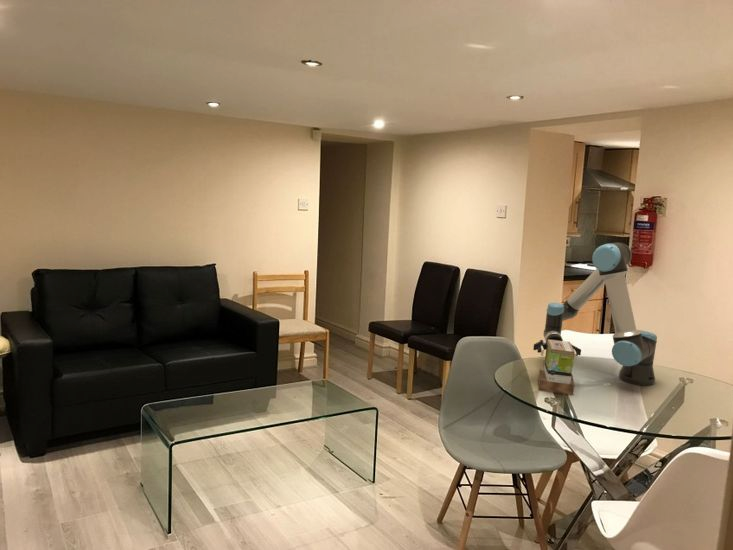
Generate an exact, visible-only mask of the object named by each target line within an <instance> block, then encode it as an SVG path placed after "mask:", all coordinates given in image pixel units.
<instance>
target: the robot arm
mask: <svg viewBox="0 0 733 550" xmlns="http://www.w3.org/2000/svg"><path fill="white" fill-rule="evenodd" d="M632 255H633V253H632V250H631V248H630V247H629V246H628V245H627V244H625V243H623V242H620V241H619V242H612V243H610V242H609V243H605V244H601V245H600V246H598V247H597V248H596V249H595V250H594V252H593V253H592V257H591V258H592V259H591V261H592V264H593V266H594V267H595V269H594V270H593V272H592V273H591V274H590V275H589V276H588V277H587V278H586V279H585V280H584V281H583V282H582V283H581V284H580V285H579V286H578V288H576V290H574V292H572V294H571V295H569V297H568V298H567V299H566V300H565V301H564V303H559V302H550V303H548V305H547V309H546V317H545V325H544V330H543V337H544V340H543V339H540V340H539V341H538V342H536V343H534V344H533V351H536V352H537V353H538V354H539V353H540V356H541V357H544V352H545V350H546V348H547V340H558V341H564V339H563V338H562V337H563V336H562V335H561V334H562V328H563V322H564V321H567V320H569V319H574V318H575V317H576V316H577V315H578V313H579V311H580V310H581V309H582V307H584V306H585V305H586V304H587V302H588V301H590V300H591V299H592V298H593V296H595V294H596V293H597V292H599V290H601V288H602V287H603V286H604V285H605V289H606V294H607V298H608V304H609V308H610V313H611V317H612V322H613V326H614V334H613V335H612V339H613V346H612V349H611V355H612V357H613V360H615V361H616V363H618V364H619V365H620V366H621V368H620V370H619V373H618V377H619V379H620V380H622V381H624V382H626V383H629V384H631V385H632V384H634V385H637V386H652V385H655V381H656V376H655V371H654V360H655V353H656V348H657V347H656V346H657V342H658V341H657V339H658V336H657V334H655V333H653V332H649V331H646V330H641V329H637V327H636V322H635V318H634V313H633V312H634V311H633V308H632V304H631V303H632V302H631V297H630V293H629V290H628V289H629V287H628V284H627V279H626V275H627V273H628V272H629V271H628V265H629V264H630V262H631V261H632V257H633V256H632ZM571 345H572V347H573V349H574V352H575V353H574V360H573V361H577V357H578V356H581V354H582V353H581V352H582V349H581V348H579V347H577V346H575V345H573V344H572V343H571Z"/></svg>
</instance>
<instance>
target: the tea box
mask: <svg viewBox="0 0 733 550" xmlns="http://www.w3.org/2000/svg"><path fill="white" fill-rule="evenodd" d="M571 344H572V343H571V342H570V341H565V340H563V341H558V340H547V348H546V351H545V356H544V357H545V358H544V364H543V365H544V366H543V370H544V372H545V376H546V379H547V381H549V382H556V383H565V384H570V382H571V374H572V375H573V366H574V361H575V360H574V353H575V352H574V349H573V347H572V345H573V344H572V345H571Z"/></svg>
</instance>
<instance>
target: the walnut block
mask: <svg viewBox="0 0 733 550" xmlns="http://www.w3.org/2000/svg"><path fill="white" fill-rule="evenodd" d="M574 390H575V381H574V376H573V373H572V374H571V382H570V384H565V383H556V382H549V381H547V379H546V376H545V372H544V369H539V372H538V391H544V392H551V393H555V394H562V395H563V394H564V395H571V396H574V392H575V391H574Z"/></svg>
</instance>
